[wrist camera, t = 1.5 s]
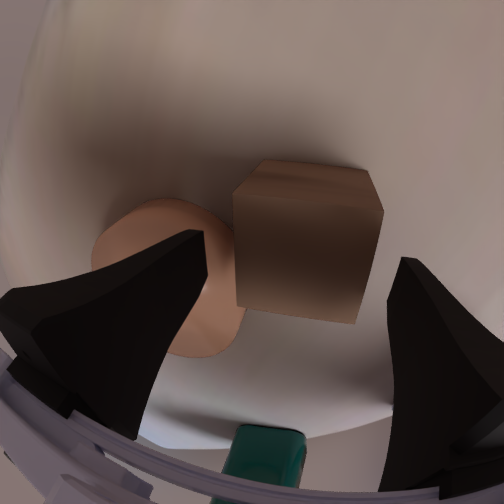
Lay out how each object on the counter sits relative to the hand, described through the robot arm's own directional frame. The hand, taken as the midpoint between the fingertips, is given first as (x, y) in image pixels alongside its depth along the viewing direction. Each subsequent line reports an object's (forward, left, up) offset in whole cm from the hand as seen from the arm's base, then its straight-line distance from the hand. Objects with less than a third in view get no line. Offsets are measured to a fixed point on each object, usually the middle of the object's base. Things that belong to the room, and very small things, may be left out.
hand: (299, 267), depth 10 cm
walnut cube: (0, 0, -5) cm, 5 cm away
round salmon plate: (-5, +8, -5) cm, 11 cm away
